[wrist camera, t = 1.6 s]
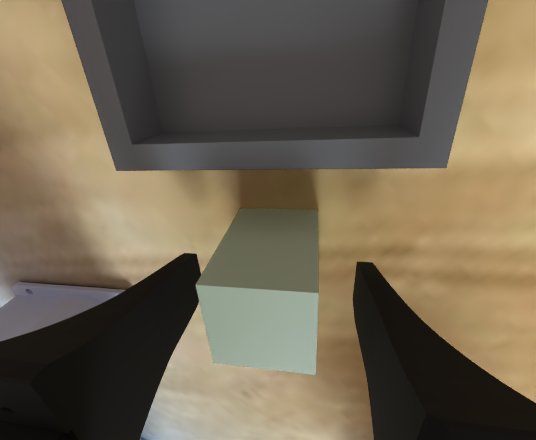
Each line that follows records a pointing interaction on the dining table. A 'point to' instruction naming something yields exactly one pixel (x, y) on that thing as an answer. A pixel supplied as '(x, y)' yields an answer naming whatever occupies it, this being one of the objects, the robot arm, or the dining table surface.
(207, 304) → the green block
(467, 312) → the dining table surface
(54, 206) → the dining table surface
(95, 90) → the bin
